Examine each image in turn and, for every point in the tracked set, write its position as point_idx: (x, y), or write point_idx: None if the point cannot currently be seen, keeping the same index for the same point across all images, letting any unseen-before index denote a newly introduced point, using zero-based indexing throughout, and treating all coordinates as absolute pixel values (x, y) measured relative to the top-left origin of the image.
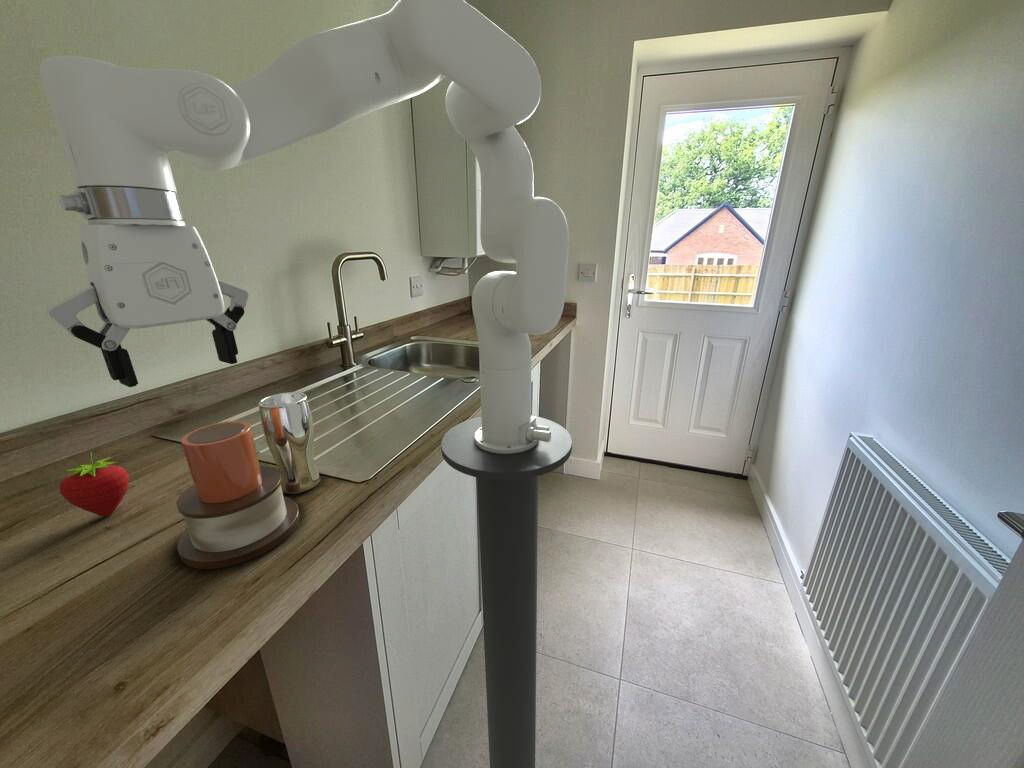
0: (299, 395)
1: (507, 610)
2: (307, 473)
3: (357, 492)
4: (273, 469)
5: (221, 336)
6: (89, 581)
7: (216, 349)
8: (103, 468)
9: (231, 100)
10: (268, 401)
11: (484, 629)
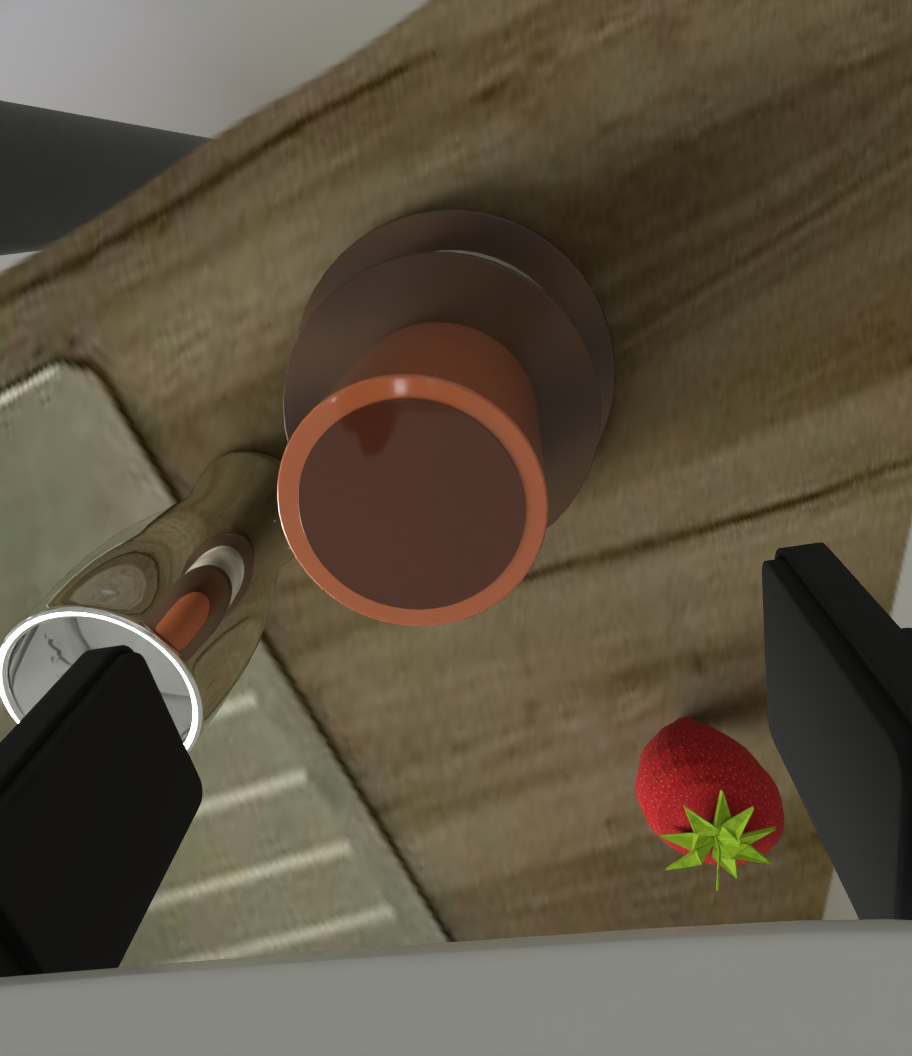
0: None
1: (39, 126)
2: (215, 479)
3: (116, 314)
4: None
5: (19, 864)
6: (784, 453)
7: (165, 862)
8: (695, 815)
9: None
10: None
11: None
